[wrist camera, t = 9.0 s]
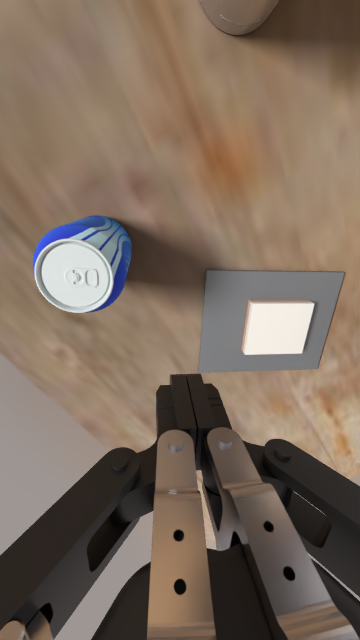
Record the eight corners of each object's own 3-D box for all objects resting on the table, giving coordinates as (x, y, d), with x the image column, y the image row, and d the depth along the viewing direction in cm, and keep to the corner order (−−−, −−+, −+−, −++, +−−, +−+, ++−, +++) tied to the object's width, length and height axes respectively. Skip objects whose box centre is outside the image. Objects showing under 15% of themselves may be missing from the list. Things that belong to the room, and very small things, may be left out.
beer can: (107, 288, 41) (85, 338, 26) (57, 248, 38) (2, 281, 23) (145, 245, 39) (143, 275, 24) (96, 200, 36) (61, 203, 21)
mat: (206, 269, 41) (207, 270, 41) (342, 271, 44) (344, 272, 43) (198, 370, 49) (198, 372, 48) (315, 367, 51) (316, 368, 51)
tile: (252, 303, 42) (314, 303, 43) (248, 299, 43) (308, 299, 44) (244, 354, 45) (301, 353, 47) (241, 349, 47) (296, 348, 48)
